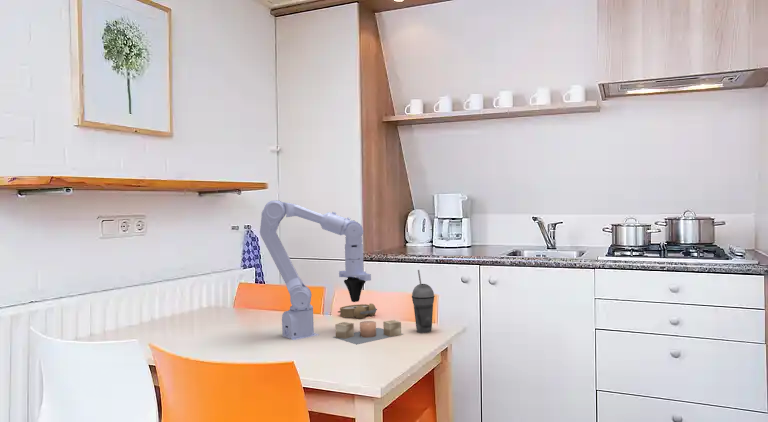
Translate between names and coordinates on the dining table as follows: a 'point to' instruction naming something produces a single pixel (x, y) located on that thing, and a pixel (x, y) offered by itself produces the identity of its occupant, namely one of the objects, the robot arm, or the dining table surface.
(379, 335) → the slate mat
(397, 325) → the birch cube
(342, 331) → the birch cube
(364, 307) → the alarm clock
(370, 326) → the tan rounded piece
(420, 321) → the beverage cup
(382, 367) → the dining table surface
